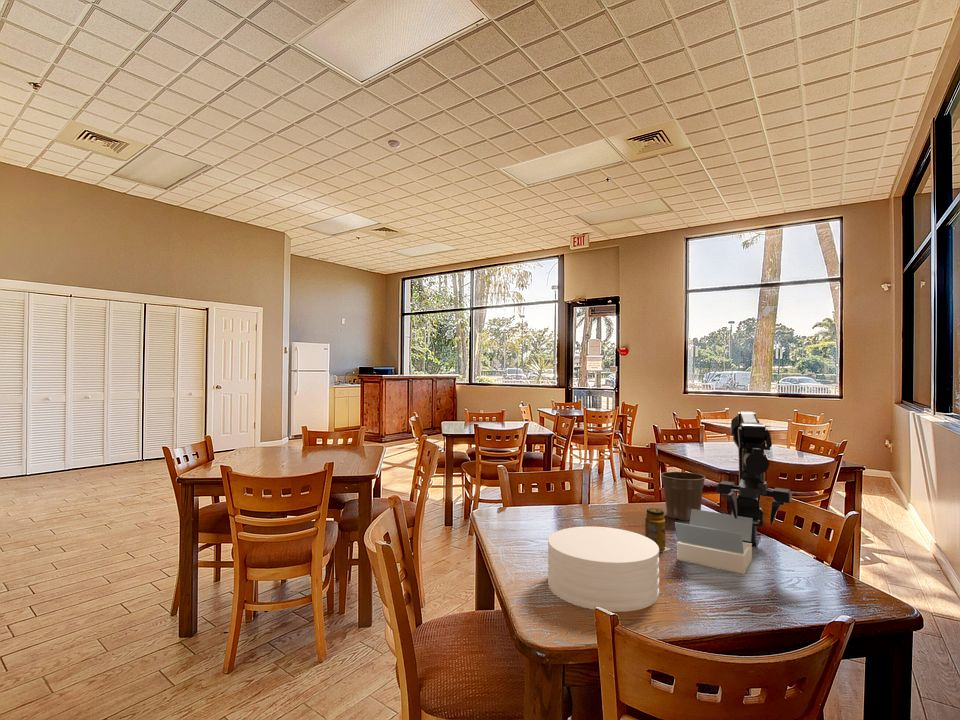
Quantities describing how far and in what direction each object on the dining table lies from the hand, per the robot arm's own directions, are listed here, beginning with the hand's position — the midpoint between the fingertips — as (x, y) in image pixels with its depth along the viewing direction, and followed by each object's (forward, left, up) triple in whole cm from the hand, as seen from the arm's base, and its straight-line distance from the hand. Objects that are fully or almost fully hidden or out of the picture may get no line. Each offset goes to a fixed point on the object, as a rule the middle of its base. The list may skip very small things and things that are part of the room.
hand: (753, 521), depth 148 cm
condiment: (+3, -28, -13) cm, 31 cm away
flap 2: (+10, -10, -4) cm, 15 cm away
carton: (+3, -10, -13) cm, 16 cm away
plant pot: (-40, -30, -13) cm, 52 cm away
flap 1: (-5, -10, -4) cm, 12 cm away
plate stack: (+40, -29, -13) cm, 52 cm away
